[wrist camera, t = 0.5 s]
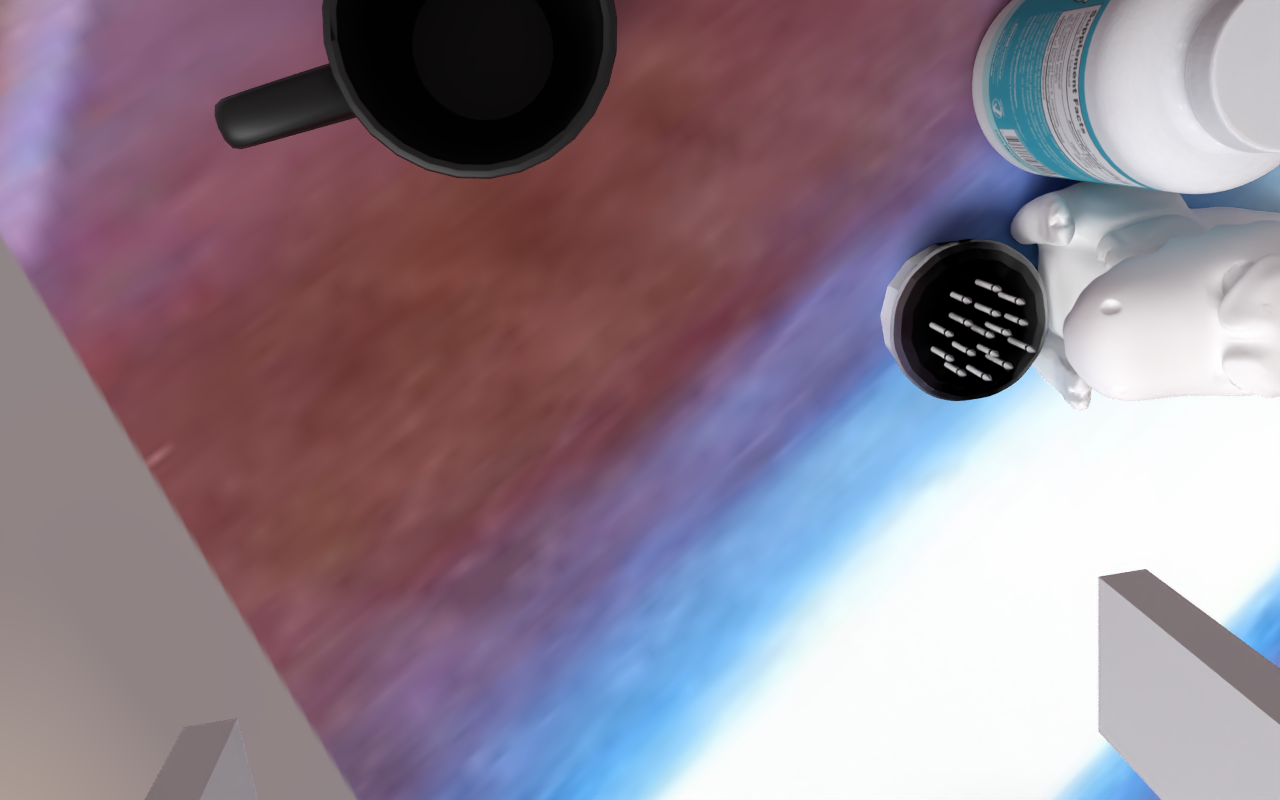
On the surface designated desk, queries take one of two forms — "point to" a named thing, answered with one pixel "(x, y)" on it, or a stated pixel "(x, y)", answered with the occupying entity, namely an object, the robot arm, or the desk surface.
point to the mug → (445, 81)
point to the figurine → (1097, 302)
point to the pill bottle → (1134, 91)
